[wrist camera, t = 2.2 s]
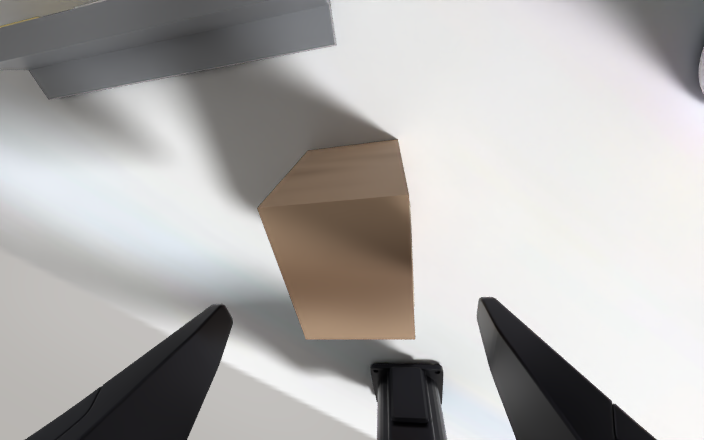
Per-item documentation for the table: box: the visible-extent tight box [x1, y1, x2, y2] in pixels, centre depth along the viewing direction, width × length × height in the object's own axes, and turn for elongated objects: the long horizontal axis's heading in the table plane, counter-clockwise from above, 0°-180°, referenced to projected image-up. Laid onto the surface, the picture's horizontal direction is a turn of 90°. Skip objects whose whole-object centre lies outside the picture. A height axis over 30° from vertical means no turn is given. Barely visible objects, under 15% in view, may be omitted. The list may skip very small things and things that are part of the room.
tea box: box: [257, 139, 415, 339], centre depth 13 cm, size 7×5×7 cm
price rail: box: [0, 0, 336, 99], centre depth 11 cm, size 16×3×3 cm, turn 99°
